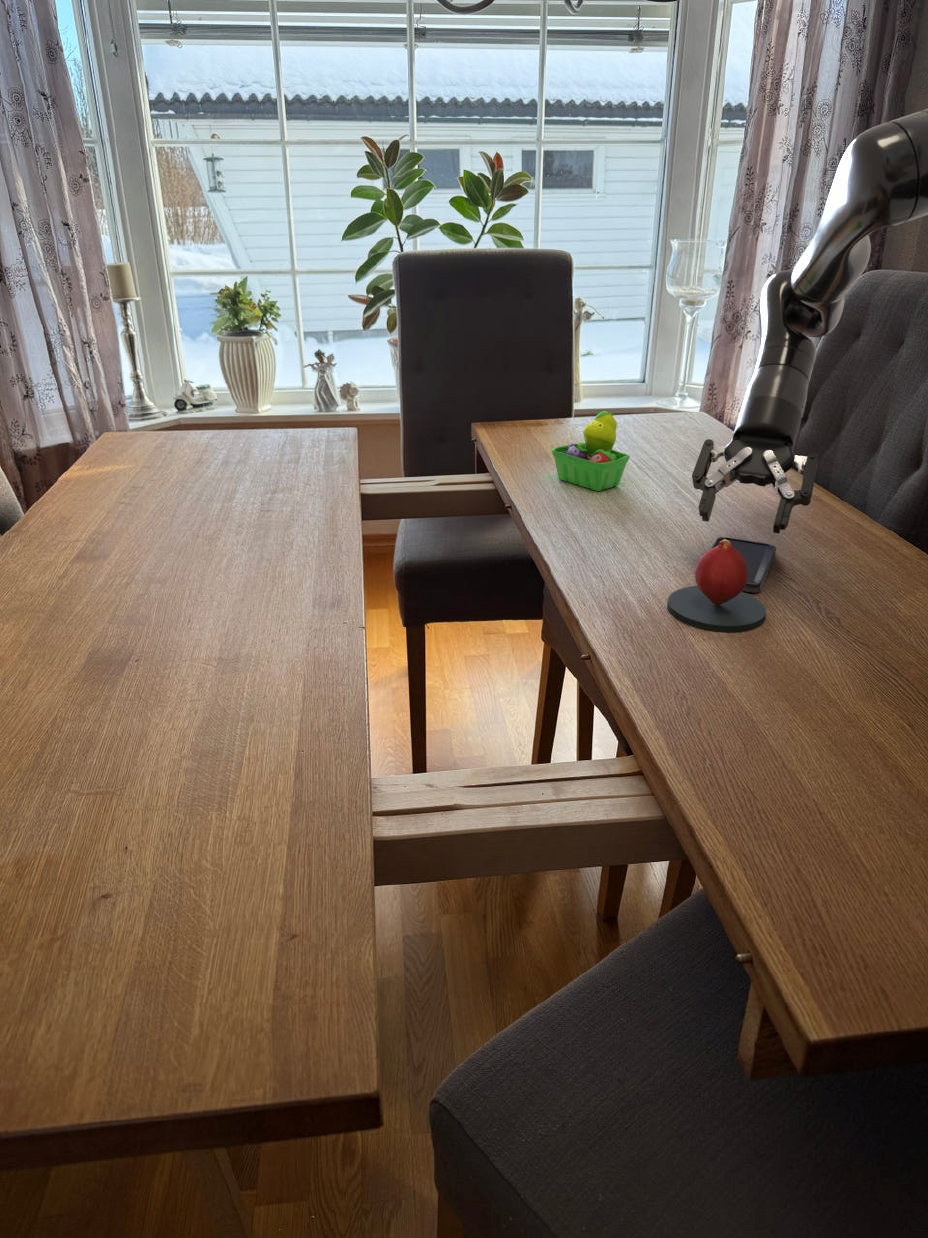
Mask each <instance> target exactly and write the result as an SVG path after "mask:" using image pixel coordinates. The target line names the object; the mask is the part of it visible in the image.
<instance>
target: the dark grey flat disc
mask: <svg viewBox="0 0 928 1238" xmlns="http://www.w3.org/2000/svg"><path fill="white" fill-rule="evenodd" d="M666 607H667V610H668V612H669V614H670V615H671V616H673V618H675V619H676V620H677V621H680V622H682V623H684V624H685V625H688V626H690V627H694V628H697V629H700V630H706V631H711V632H718V633H719V632H720V633H739V632H747V631H750V630H754V629H756V628H758V627H760V626H761V625H762V624H764V622H765V620H766V615H767V608H766V606H765V604H764V603H763V602H762V601H760V599H758V598H756V597H755V596H753V595H751V594H750V593H748V592H745V591H741V593H740V594H739V595H737V596H736V597H734V598H733V599H731V600H729V601H727V602H725V603H723V604H721V605H715V604H713V603H712V602H711V601H710V600H709V599H708V598H707V597H706V596H705V595H704V594H703V593H702V592H701V591H700V590H699V589H698V587H697V585H691V586H685V587H682V588H679V589H676V590H675V591H672V593H671V594H670V595H669V596H668V598H667V605H666Z"/></svg>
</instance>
